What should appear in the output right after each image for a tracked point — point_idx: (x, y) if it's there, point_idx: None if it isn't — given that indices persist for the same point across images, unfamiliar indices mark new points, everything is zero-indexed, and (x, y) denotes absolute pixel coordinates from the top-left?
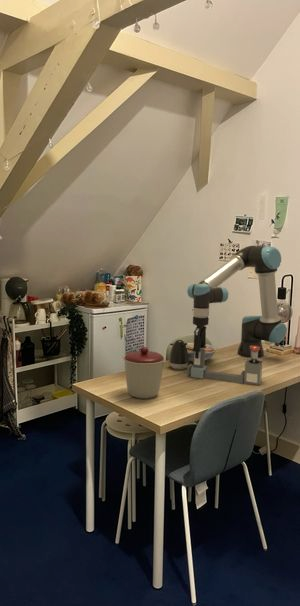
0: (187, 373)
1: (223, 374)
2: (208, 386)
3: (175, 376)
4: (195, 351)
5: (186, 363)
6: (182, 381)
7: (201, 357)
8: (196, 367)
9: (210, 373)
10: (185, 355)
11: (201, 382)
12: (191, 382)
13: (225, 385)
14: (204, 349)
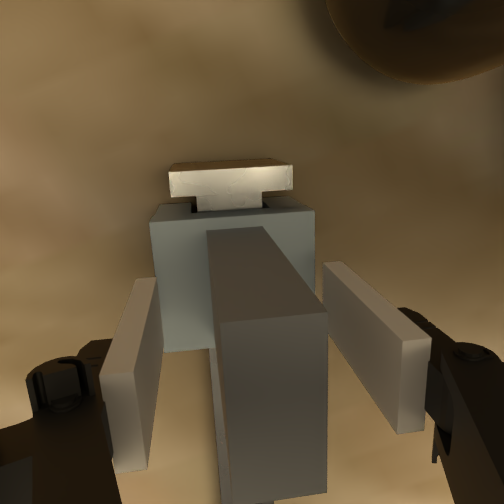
0: (173, 166)
1: (225, 483)
2: (18, 408)
3: (110, 51)
4: (22, 430)
5: (388, 76)
6: (2, 175)
7: (220, 383)
8: (204, 268)
9: (212, 384)
10: (438, 40)
11: (82, 330)
12: (28, 259)
13: (120, 492)
14: (288, 495)
